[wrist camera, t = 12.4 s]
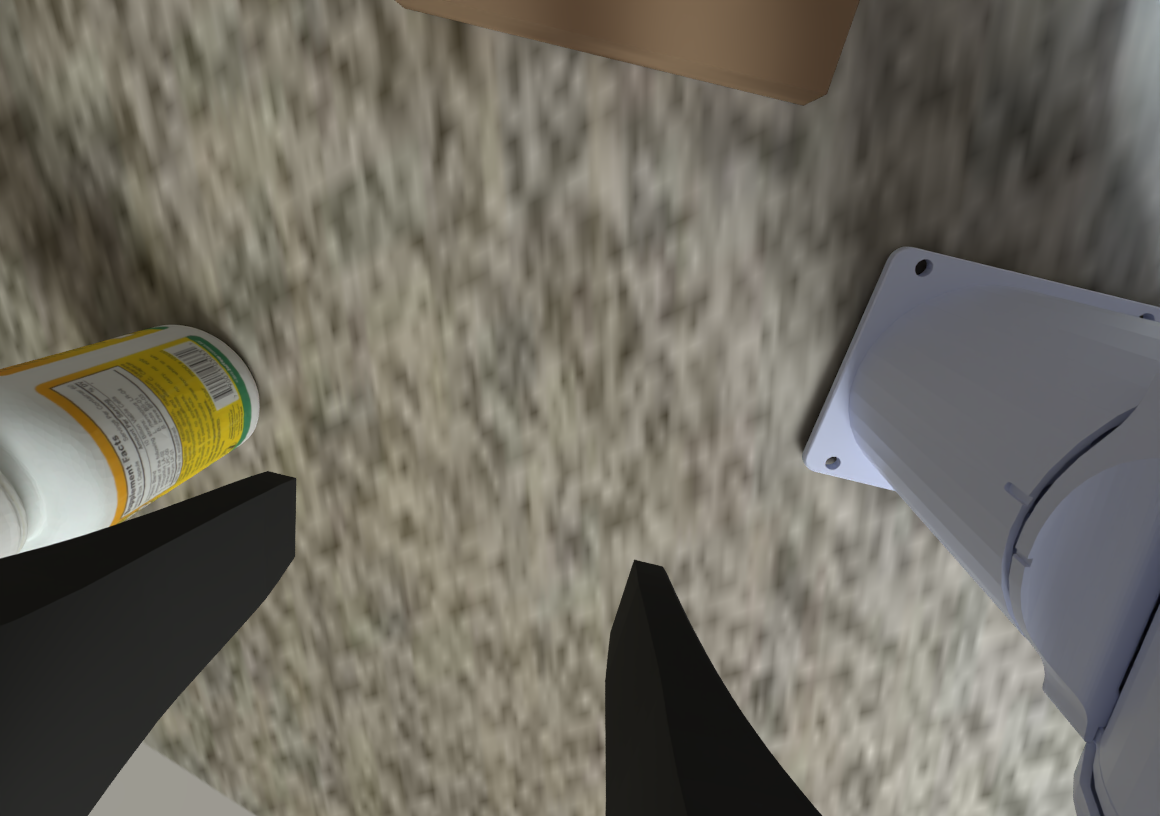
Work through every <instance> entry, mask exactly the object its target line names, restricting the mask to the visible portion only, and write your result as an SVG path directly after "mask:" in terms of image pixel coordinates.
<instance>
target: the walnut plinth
mask: <svg viewBox="0 0 1160 816" xmlns="http://www.w3.org/2000/svg"><path fill="white" fill-rule="evenodd" d="M395 1H396V2H397V3H399V4H400V5H401V6H402V7H404V8H406V9H410V10H414V11H418V12H422V13H426V14H431V15H435V16H439V17H443V18H447V19H451V20H455V21H459V22H463V23H467V24H472V25H476V26H480V27H484V28H488V29H492V30H496V31H500V32H504V33H508V34H513V35H517V36H521V37H525V38H529V39H533V40H537V41H541V42H545V43H549V44H554V45H558V46H562V47H566V48H570V49H574V50H578V51H582V52H586V53H590V54H594V55H599V56H603V57H607V58H611V59H615V60H619V61H623V62H627V63H631V64H635V65H640V66H644V67H648V68H652V69H656V70H660V71H664V72H668V73H672V74H676V75H681V76H685V77H689V78H693V79H697V80H701V81H705V82H709V83H713V84H717V85H722V86H726V87H730V88H734V89H738V90H742V91H746V92H750V93H754V94H758V95H762V96H767V97H771V98H775V99H779V100H783V101H787V102H791V103H795V104H799V105H803V106H804V105H806V104H808V103H810V102H812V101H814V100H816V99H818V98H820V97H822V96H824V95H826V94H827V92H828V89H829V86H830V83H831V80H832V78H833V75H834V72H835V69H836V66H837V63H838V61H839V58H840V55H841V52H842V49H843V46H844V44H845V41H846V38H847V35H848V32H849V29H850V27H851V24H852V21H853V18H854V15H855V12H856V10H857V7H858V4H859V1H860V0H395Z"/></svg>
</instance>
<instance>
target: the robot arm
mask: <svg viewBox="0 0 1160 816" xmlns="http://www.w3.org/2000/svg"><path fill="white" fill-rule="evenodd" d="M923 259H925V260H926V263H927V266H926V269H925V270H924V272H923V273H921V274H919V275H916V272H915V267H916V265H917V264H918V262H919V261H921V260H923ZM1141 315H1143V318H1139V316H1141ZM830 457H837V459H836V461H835V462H834V463H832V464H825V463H826V460H827V459H828V458H830ZM802 459H803V462H804V464H805V465H806V466H807V467H808V469H810V470H812V471H815V472H819V473H823V474H827V475H832V476H836V477H840V478H844V479H848V480H852V481H856V482H860V483H865V484H869V485H873V486H877V487H881V488H885V489H889V490H893V491H896V492H897V493H898V494H899V495H900V497H901V498H902V499H903V500H904V501H905V502H906V503H907V504H908V506H909V507H910V508H911V509H912V510H913V511H914V512H915V514H916V515H917V516H918V517H919V518H920V519H921V520H922V521H923V523H924V524H925V525H926V526H927V527H928V528H929V529H930V531H931V532H932V533H933V534H934V535H935V536H936V537H937V538H938V540H939V541H940V542H941V543H942V544H943V545H944V546H945V548H946V549H947V550H948V551H949V552H950V553H951V554H952V555H953V557H954V558H955V559H956V560H957V561H958V562H959V563H960V565H961V566H962V567H963V568H964V569H965V570H966V571H967V572H968V574H969V575H970V576H971V577H972V578H973V579H974V580H975V582H976V583H977V584H978V585H979V586H980V587H981V588H982V589H983V591H984V592H985V593H986V594H987V595H988V596H989V597H990V599H991V600H992V601H993V602H994V603H995V604H996V605H997V606H998V608H999V609H1000V610H1001V611H1002V612H1003V613H1004V614H1005V616H1006V617H1007V618H1008V619H1009V620H1010V621H1011V622H1012V623H1013V625H1014V626H1015V627H1016V628H1017V629H1018V630H1019V631H1020V633H1021V634H1022V635H1023V636H1024V637H1026V638H1027V639H1028V641H1029V642H1030V643H1031V645H1032V646H1033V647H1034V649H1035V650H1036V651H1037V653H1038V654H1039V655H1040V657H1041V659H1042V661H1043V664H1044V670H1045V678H1044V683H1043V691H1044V692H1045V693H1046V695H1047V696H1048V697H1049V698H1050V699H1051V701H1052V702H1053V703H1054V704H1055V705H1056V707H1057V708H1058V709H1059V710H1060V712H1061V713H1062V714H1063V715H1064V716H1065V718H1066V719H1067V720H1068V721H1069V722H1070V724H1071V725H1072V726H1073V727H1074V728H1075V730H1076V731H1077V732H1078V733H1079V735H1080V736H1081V737H1082V738H1083V739H1084V741H1085V742H1087V743H1086V745H1085V747H1084V749H1083V752H1082V754H1081V756H1080V759H1079V762H1078V765H1077V767H1076V770H1075V773H1074V785H1073V800H1074V805H1075V810H1076V814H1077V816H1160V307H1157V306H1153V305H1149V304H1145V303H1141V302H1136V301H1132V300H1128V299H1124V298H1120V297H1116V296H1112V295H1108V294H1104V293H1099V292H1095V291H1091V290H1087V289H1083V288H1079V287H1075V286H1071V285H1067V284H1063V283H1058V282H1054V281H1050V280H1046V279H1042V278H1038V277H1034V276H1030V275H1026V274H1021V273H1017V272H1013V271H1009V270H1005V269H1001V268H997V267H993V266H989V265H984V264H980V263H976V262H972V261H968V260H964V259H960V258H956V257H952V256H948V255H943V254H939V253H935V252H931V251H927V250H923V249H919V248H915V247H906V246H904V247H901V248H898V249H896V250H895V251H894V252H892V253H891V255H890V256H889V258H888V259H887V261H886V264H885V266H884V268H883V271H882V273H881V275H880V277H879V280H878V282H877V284H876V287H875V289H874V291H873V293H872V296H871V298H870V300H869V303H868V305H867V307H866V309H865V312H864V314H863V316H862V319H861V321H860V323H859V325H858V328H857V330H856V332H855V335H854V337H853V339H852V341H851V344H850V346H849V348H848V351H847V353H846V355H845V357H844V360H843V362H842V364H841V367H840V369H839V371H838V373H837V376H836V378H835V380H834V382H833V385H832V387H831V389H830V392H829V394H828V396H827V398H826V401H825V403H824V405H823V408H822V410H821V412H820V414H819V417H818V419H817V421H816V424H815V426H814V428H813V430H812V433H811V435H810V437H809V440H808V442H807V444H806V446H805V449H804V451H803V455H802ZM295 522H296V478H294V477H290V476H285V475H281V474H277V473H273V472H269V471H267V472H264V473H260V474H257V475H254V476H251V477H248V478H245V479H242V480H239V481H236V482H234V483H231V484H228V485H226V486H223V487H220V488H217V489H215V490H212V491H209V492H207V493H204V494H201V495H199V496H196V497H193V498H190V499H188V500H185V501H182V502H179V503H177V504H174V505H171V506H168V507H166V508H163V509H160V510H157V511H155V512H152V513H149V514H146V515H143V516H140V517H137V518H134V519H131V520H128V521H125V522H122V523H119V524H116V525H113V526H110V527H107V528H104V529H101V530H98V531H95V532H92V533H89V534H86V535H82V536H79V537H76V538H72V539H69V540H66V541H62V542H59V543H55V544H52V545H48V546H45V547H41V548H37V549H34V550H30V551H26V552H22V553H18V554H15V555H11V556H7V557H3V558H0V816H88V815H89V813H90V812H91V810H92V809H93V808H94V806H95V805H96V803H97V802H98V801H99V799H100V798H101V796H102V795H103V794H104V792H105V791H106V789H107V788H108V787H109V785H110V784H111V782H112V781H113V780H114V778H115V777H116V776H117V774H118V773H119V772H120V770H121V769H122V768H123V766H124V765H125V764H126V762H127V761H128V760H129V758H130V757H131V756H132V754H133V753H134V752H135V750H136V749H137V748H138V746H139V745H140V744H141V743H142V741H143V740H144V739H145V737H146V736H147V735H148V733H149V732H150V731H151V729H152V728H153V727H154V725H155V724H156V723H157V721H158V720H159V719H160V718H161V716H162V715H163V714H164V713H165V712H166V711H167V709H168V708H169V707H170V706H171V705H172V703H173V702H174V701H175V700H176V699H177V697H178V696H179V695H180V694H181V693H182V692H183V691H184V690H185V688H186V687H187V686H188V685H189V684H190V683H191V682H192V681H193V680H194V679H195V677H196V676H197V675H198V674H199V673H200V672H201V671H202V670H203V669H204V667H205V666H206V665H207V664H208V663H209V662H210V661H211V660H212V659H213V657H214V656H215V655H216V654H217V653H218V652H219V651H220V650H221V649H222V648H223V646H224V645H225V644H226V643H227V642H228V641H229V640H230V639H231V638H232V636H233V635H234V634H235V633H236V632H237V631H238V630H239V629H240V628H241V626H242V625H243V624H244V623H245V622H246V621H247V620H248V619H249V617H250V616H251V615H252V614H253V613H254V612H255V611H256V610H257V608H258V607H259V606H260V605H261V604H262V603H263V601H264V600H265V599H266V598H267V596H268V595H269V594H270V592H271V591H272V589H273V588H274V587H275V585H276V584H277V582H278V581H279V580H280V578H281V577H282V575H283V574H284V572H285V571H286V569H287V568H288V566H289V565H290V563H291V562H292V560H293V559H294V557H295ZM605 729H606V816H822V815H821V814H820V813H819V812H818V810H817V809H816V808H815V807H814V806H813V805H812V803H811V802H810V801H809V800H808V798H807V797H806V796H805V795H804V794H803V792H802V791H801V790H800V789H799V787H798V786H797V785H796V784H795V783H794V781H793V780H792V779H791V778H790V776H789V775H788V774H787V773H786V772H785V770H784V769H783V768H782V767H781V765H780V764H779V763H778V761H777V760H776V759H775V757H774V756H773V755H772V754H771V752H770V751H769V750H768V748H767V747H766V746H765V744H764V743H763V741H762V740H761V739H760V737H759V736H758V734H757V733H756V732H755V730H754V729H753V727H752V726H751V724H750V723H749V722H748V720H747V719H746V717H745V716H744V715H743V713H742V712H741V710H740V709H739V707H738V705H737V704H736V702H735V701H734V699H733V698H732V696H731V694H730V693H729V691H728V690H727V688H726V686H725V685H724V683H723V681H722V680H721V678H720V676H719V675H718V673H717V671H716V670H715V668H714V666H713V664H712V663H711V661H710V659H709V657H708V656H707V654H706V652H705V650H704V648H703V646H702V644H701V643H700V641H699V639H698V637H697V635H696V633H695V631H694V629H693V627H692V626H691V624H690V622H689V620H688V618H687V616H686V613H685V611H684V609H683V607H682V605H681V603H680V601H679V599H678V597H677V595H676V593H675V590H674V588H673V586H672V584H671V582H670V579H669V577H668V575H667V573H666V571H665V569H664V568H663V567H662V566H658V565H654V564H650V563H646V562H641V561H637V560H634V562H633V565H632V568H631V571H630V574H629V577H628V580H627V583H626V587H625V590H624V593H623V596H622V599H621V602H620V605H619V608H618V611H617V614H616V617H615V620H614V623H613V626H612V629H611V632H610V641H609V650H608V659H607V669H606V679H605Z"/></svg>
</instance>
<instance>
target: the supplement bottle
mask: <svg viewBox="0 0 1160 816" xmlns="http://www.w3.org/2000/svg"><path fill="white" fill-rule="evenodd" d="M259 409H260V405H259V394H258V389H257V386H256V383H255V381H254V379H253V377H252V375H251V373H250V371H249V369H248V368H247V366H246V365H245V363H244V362H243V361H242V359H241V358H240V357H239V356H238V355H237V354H236V353H235V352H234V351H233V350H232V349H231V348H230V347H229V346H227V345H226V344H225V343H224V342H222V341H221V340H220V339H218V338H216V337H214V336H213V335H211V334H209V333H207V332H204V331H202V330H199V329H196V328H193V327H189V326H183V325H162V326H157V327H153V328H149V329H144V330H141V331H137V332H134V333H130V334H127V335H123V336H119V337H115V338H112V339H109V340H105V341H102V342H98V343H95V344H91V345H87V346H84V347H80V348H77V349H73V350H69V351H66V352H62V353H59V354H55V355H51V356H47V357H44V358H41V359H37V360H33V361H29V362H25V363H22V364H18V365H14V366H11V367H7V368H3V369H0V558H3V557H7V556H11V555H15V554H18V553H22V552H26V551H30V550H34V549H37V548H41V547H45V546H48V545H52V544H55V543H59V542H62V541H66V540H69V539H72V538H76V537H79V536H82V535H86V534H89V533H92V532H95V531H98V530H101V529H104V528H107V527H110V526H113V525H116V524H119V523H121V522H123V521H124V520H126V519H127V518H129V517H131V516H132V515H133V514H135V513H136V512H138V511H140V510H141V509H143V508H144V507H146V506H147V505H149V504H150V503H152V502H153V501H155V500H156V499H158V498H159V497H161V496H163V495H164V494H166V493H167V492H169V491H170V490H172V489H174V488H175V487H177V486H178V485H180V484H181V483H183V482H184V481H186V480H188V479H189V478H191V477H192V476H194V475H195V474H197V473H199V472H200V471H202V470H203V469H205V468H206V467H208V466H209V465H211V464H212V463H214V462H215V461H217V460H218V459H220V458H221V457H223V456H224V455H226V454H227V453H229V452H230V451H232V450H234V449H235V448H236V447H238V446H239V445H241V444H242V443H244V442H245V441H246V440H247V439H248V438H249V437H250V436H251V434H252V433H253V431H254V429H255V428H256V425H257V421H258V418H259Z"/></svg>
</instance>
